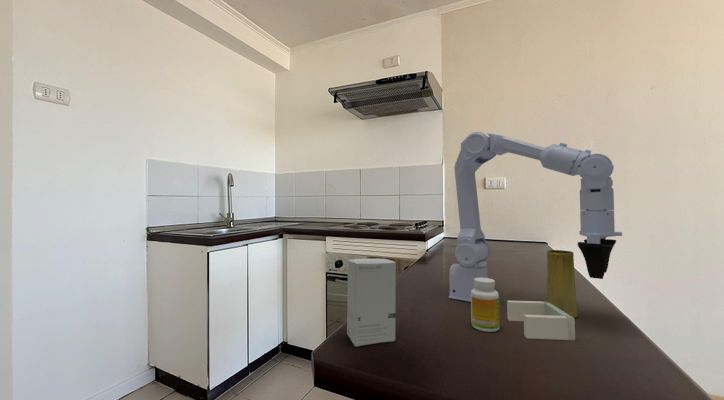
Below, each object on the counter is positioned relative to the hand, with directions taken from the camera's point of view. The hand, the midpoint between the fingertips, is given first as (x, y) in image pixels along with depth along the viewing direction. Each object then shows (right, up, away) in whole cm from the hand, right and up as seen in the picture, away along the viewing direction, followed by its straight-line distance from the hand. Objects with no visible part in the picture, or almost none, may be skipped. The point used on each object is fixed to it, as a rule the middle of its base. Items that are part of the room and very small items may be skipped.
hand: (598, 274), depth 63 cm
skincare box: (-49, -11, -6) cm, 50 cm away
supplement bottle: (-25, -11, -2) cm, 27 cm away
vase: (-4, -10, +5) cm, 12 cm away
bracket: (-14, -10, -3) cm, 18 cm away
